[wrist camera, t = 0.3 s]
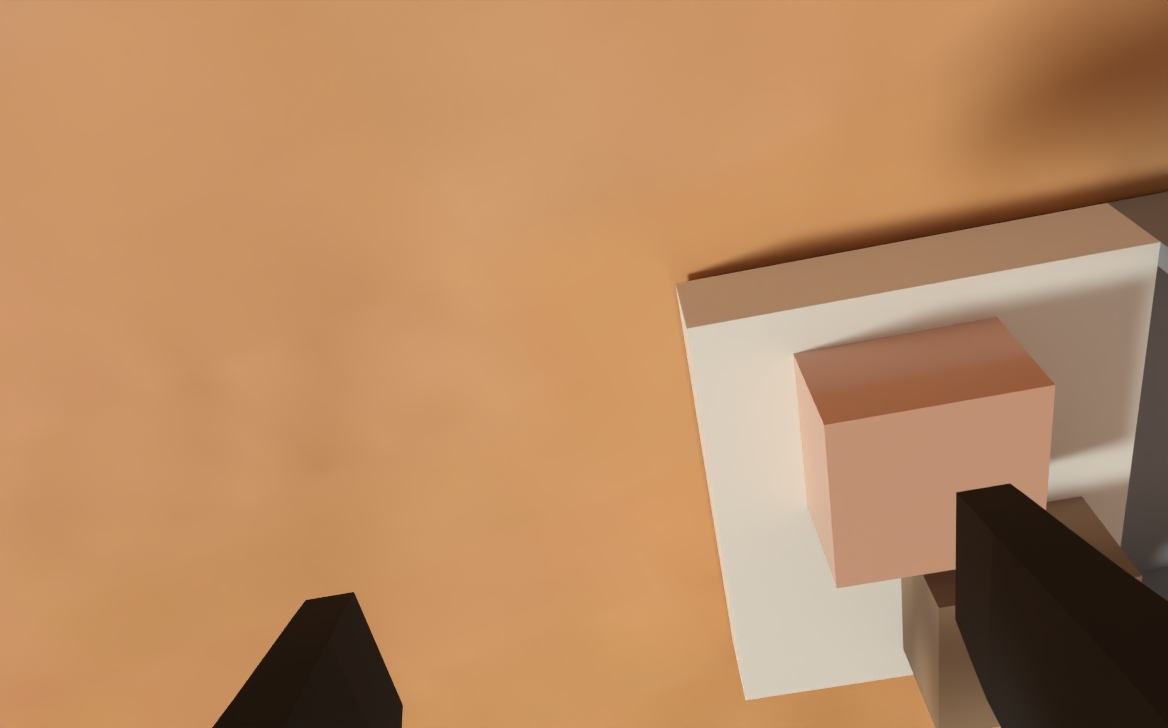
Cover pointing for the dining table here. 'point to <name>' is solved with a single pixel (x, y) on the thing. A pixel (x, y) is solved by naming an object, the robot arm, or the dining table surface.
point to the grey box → (1151, 417)
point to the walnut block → (939, 640)
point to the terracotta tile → (916, 441)
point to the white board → (881, 309)
